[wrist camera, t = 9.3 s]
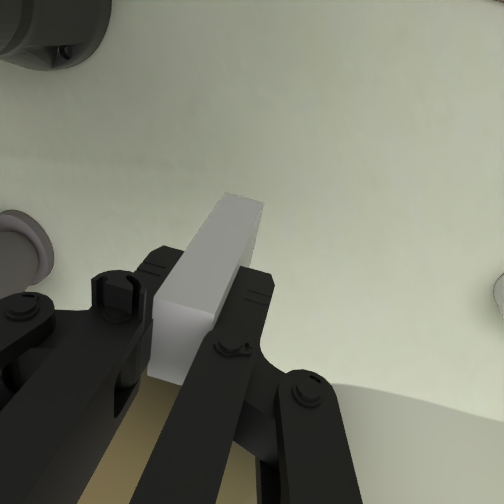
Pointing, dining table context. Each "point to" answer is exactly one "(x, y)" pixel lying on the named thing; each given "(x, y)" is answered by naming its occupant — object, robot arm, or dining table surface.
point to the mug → (500, 294)
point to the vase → (22, 252)
